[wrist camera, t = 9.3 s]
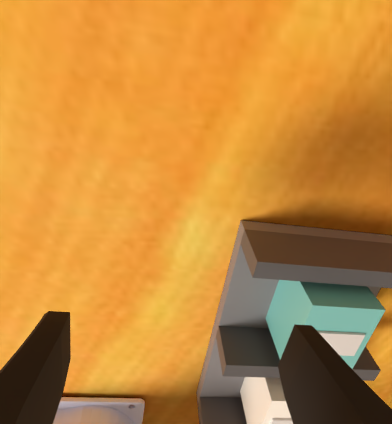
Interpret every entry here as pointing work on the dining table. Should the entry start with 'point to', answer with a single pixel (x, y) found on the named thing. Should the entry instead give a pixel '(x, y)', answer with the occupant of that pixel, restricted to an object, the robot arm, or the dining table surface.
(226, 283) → the gray shelf unit
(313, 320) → the teal box
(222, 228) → the dining table surface
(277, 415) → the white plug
